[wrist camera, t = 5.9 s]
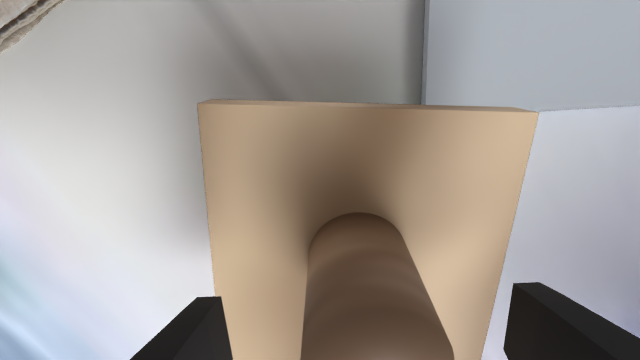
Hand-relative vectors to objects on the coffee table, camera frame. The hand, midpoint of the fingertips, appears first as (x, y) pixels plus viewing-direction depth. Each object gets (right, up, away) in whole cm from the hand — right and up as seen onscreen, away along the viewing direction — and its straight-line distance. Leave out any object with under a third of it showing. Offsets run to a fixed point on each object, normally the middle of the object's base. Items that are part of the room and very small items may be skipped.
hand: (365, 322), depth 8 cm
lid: (0, +2, +3) cm, 3 cm away
